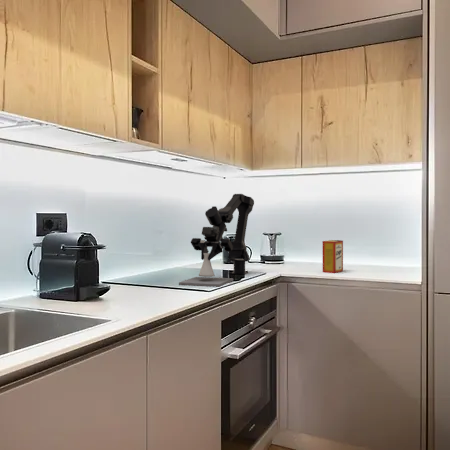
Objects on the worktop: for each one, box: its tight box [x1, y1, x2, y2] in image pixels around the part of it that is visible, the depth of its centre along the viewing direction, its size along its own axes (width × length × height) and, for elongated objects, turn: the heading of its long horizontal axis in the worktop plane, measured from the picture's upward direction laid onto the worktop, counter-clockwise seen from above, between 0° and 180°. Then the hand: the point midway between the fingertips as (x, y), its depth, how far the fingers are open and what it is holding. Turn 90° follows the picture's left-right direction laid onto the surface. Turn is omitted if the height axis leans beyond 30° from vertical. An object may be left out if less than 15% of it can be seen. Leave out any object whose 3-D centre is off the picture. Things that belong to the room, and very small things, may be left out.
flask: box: [198, 252, 215, 278], centre depth 202 cm, size 7×7×10 cm
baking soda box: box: [322, 239, 344, 274], centre depth 236 cm, size 10×6×16 cm
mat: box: [178, 276, 234, 288], centre depth 202 cm, size 18×18×1 cm
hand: (205, 259), depth 201 cm, fingers closed on flask, 3 cm apart
